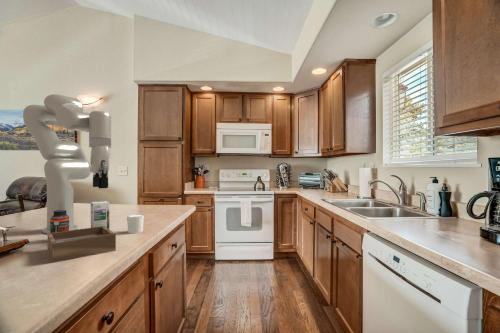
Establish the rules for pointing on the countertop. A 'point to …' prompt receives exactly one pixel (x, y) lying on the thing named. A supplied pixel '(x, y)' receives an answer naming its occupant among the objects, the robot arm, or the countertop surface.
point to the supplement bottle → (59, 221)
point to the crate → (80, 243)
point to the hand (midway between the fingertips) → (100, 187)
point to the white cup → (135, 223)
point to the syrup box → (100, 214)
